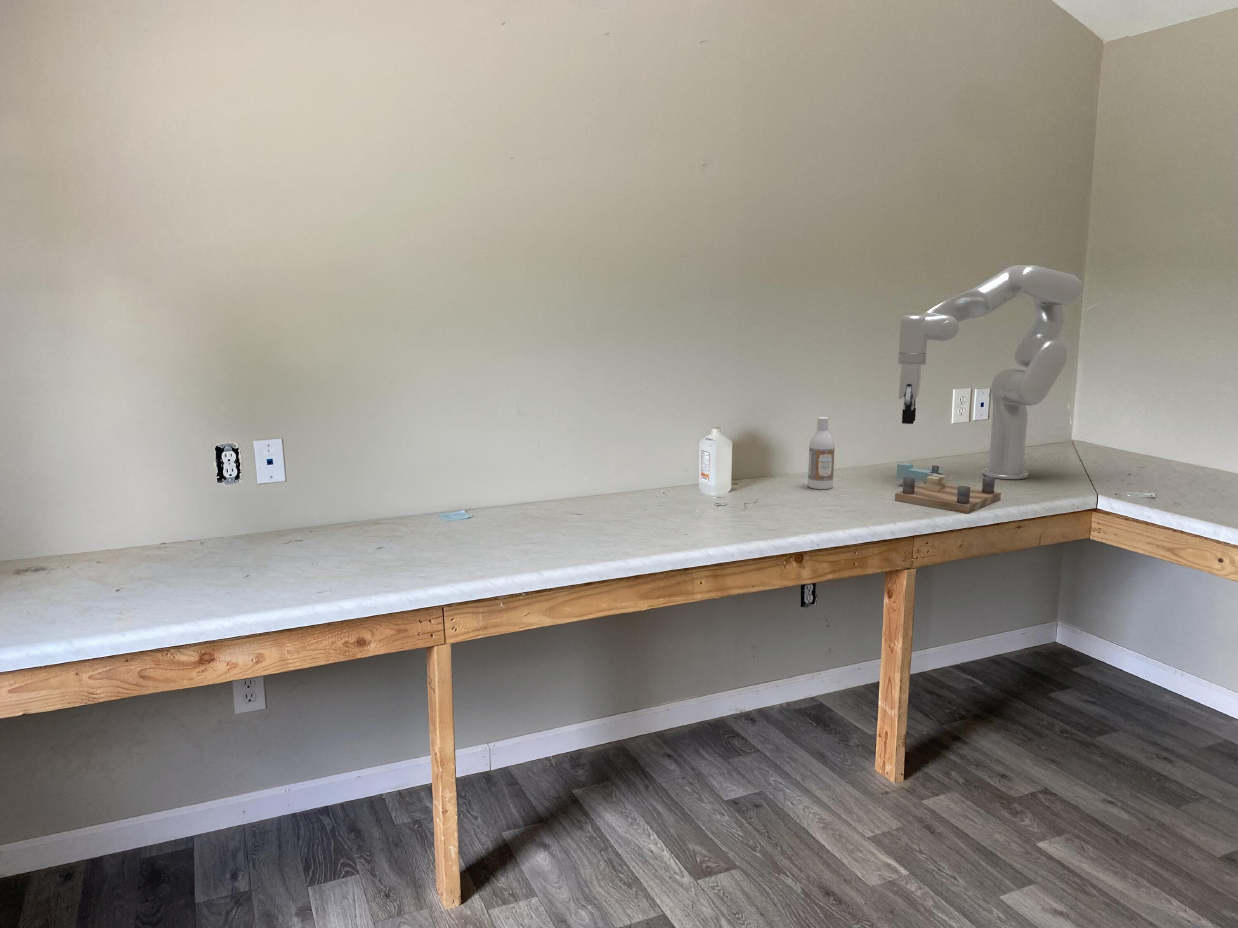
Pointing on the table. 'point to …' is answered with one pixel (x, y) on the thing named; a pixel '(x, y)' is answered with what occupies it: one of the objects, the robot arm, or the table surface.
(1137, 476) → the table surface
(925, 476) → the leg
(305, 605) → the table surface
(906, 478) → the stool seat
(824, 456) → the bath foam
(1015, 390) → the robot arm
